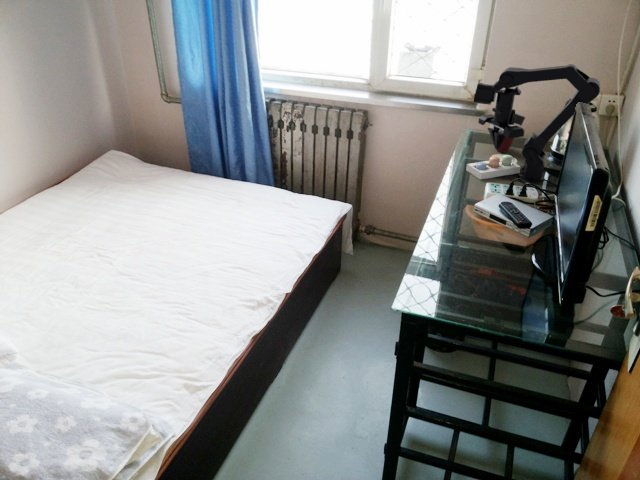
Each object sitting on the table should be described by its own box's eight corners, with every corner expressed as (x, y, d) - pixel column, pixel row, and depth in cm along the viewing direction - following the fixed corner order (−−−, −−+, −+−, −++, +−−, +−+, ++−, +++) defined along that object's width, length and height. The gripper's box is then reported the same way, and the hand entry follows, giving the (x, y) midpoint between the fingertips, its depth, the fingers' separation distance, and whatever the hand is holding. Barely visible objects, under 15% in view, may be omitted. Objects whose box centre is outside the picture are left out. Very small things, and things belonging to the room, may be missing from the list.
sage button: (513, 165, 192) (514, 157, 190) (504, 166, 191) (506, 158, 189) (507, 161, 195) (508, 154, 193) (498, 163, 194) (500, 155, 192)
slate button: (487, 172, 189) (488, 165, 188) (478, 174, 188) (480, 166, 187) (481, 169, 192) (482, 161, 191) (473, 170, 191) (474, 163, 190)
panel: (519, 172, 191) (520, 166, 190) (480, 179, 186) (481, 173, 185) (504, 164, 198) (505, 158, 197) (466, 170, 193) (467, 163, 192)
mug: (492, 144, 217) (496, 120, 212) (512, 146, 215) (517, 122, 210) (491, 152, 209) (495, 128, 204) (512, 155, 206) (516, 130, 201)
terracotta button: (500, 167, 190) (502, 159, 189) (492, 168, 189) (493, 160, 188) (494, 163, 193) (496, 156, 192) (486, 164, 192) (487, 157, 191)
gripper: (541, 110, 174) (532, 154, 182) (506, 97, 189) (499, 138, 197) (514, 114, 171) (506, 158, 179) (480, 100, 186) (474, 141, 194)
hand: (496, 148), depth 188 cm, fingers closed
